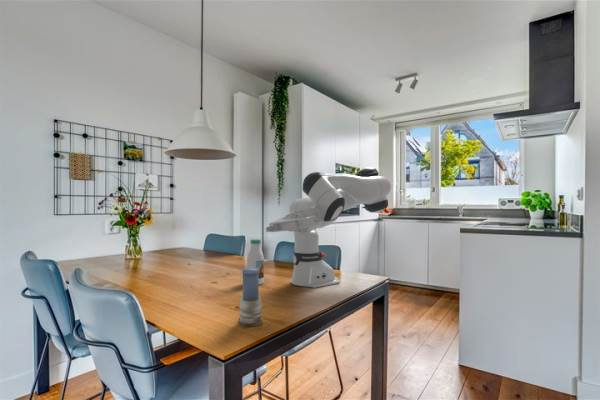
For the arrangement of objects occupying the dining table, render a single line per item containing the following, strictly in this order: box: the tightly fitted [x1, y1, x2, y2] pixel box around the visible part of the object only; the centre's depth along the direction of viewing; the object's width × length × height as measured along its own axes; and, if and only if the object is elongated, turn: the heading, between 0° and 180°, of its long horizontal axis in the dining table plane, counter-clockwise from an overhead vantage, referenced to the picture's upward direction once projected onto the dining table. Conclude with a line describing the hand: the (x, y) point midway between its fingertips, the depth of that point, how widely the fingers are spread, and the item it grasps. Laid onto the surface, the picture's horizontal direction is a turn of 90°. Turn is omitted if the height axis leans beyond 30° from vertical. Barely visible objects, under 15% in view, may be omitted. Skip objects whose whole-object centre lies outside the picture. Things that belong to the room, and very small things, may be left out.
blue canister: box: [241, 267, 260, 301], centre depth 93 cm, size 5×5×9 cm
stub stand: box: [238, 295, 264, 329], centre depth 93 cm, size 7×7×7 cm
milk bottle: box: [246, 238, 265, 285], centre depth 140 cm, size 8×8×20 cm
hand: (275, 228), depth 103 cm, fingers open, 8 cm apart
